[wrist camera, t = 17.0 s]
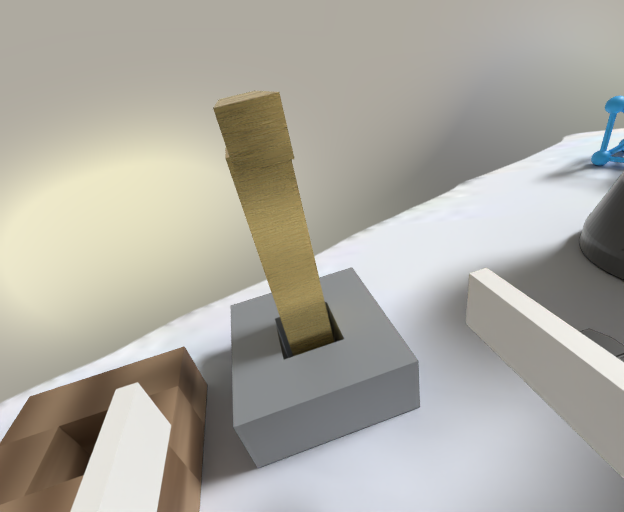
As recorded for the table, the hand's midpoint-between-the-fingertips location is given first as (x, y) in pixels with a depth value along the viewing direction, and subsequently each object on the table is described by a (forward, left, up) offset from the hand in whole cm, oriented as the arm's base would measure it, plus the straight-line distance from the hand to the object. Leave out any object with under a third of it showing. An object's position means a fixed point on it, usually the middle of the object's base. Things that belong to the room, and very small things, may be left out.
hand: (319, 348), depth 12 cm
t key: (+5, -8, -13) cm, 16 cm away
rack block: (+5, -8, -13) cm, 16 cm away
